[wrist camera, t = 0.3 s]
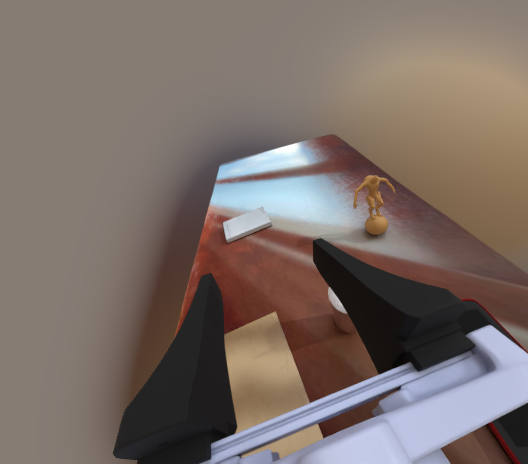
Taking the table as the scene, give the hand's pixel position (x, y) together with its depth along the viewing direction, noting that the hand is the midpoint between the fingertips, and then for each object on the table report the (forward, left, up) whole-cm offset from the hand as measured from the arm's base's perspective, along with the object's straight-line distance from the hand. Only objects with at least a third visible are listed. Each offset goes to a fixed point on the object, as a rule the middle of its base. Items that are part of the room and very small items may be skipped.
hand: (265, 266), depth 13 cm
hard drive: (+33, +1, -21) cm, 39 cm away
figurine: (+15, -23, -21) cm, 35 cm away
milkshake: (+1, -7, -21) cm, 22 cm away
